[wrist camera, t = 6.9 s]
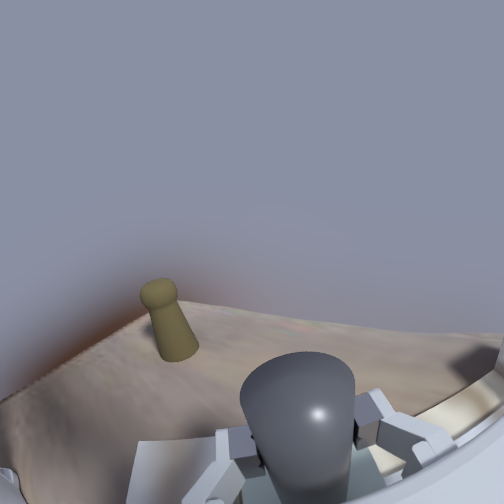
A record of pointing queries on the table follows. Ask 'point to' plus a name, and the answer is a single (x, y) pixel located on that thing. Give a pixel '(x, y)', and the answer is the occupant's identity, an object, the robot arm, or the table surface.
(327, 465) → the carriage
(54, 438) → the table surface
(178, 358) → the olive brown pepper mill
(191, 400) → the table surface
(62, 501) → the table surface
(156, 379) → the table surface
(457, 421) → the rail track
